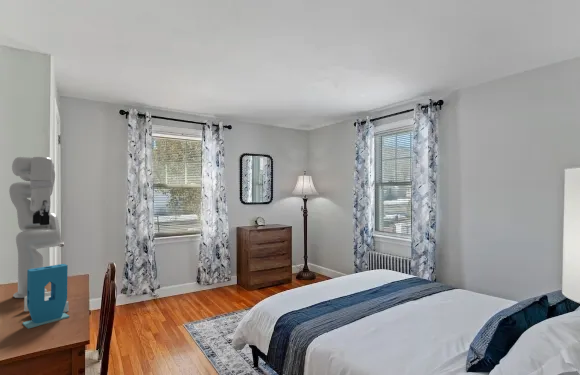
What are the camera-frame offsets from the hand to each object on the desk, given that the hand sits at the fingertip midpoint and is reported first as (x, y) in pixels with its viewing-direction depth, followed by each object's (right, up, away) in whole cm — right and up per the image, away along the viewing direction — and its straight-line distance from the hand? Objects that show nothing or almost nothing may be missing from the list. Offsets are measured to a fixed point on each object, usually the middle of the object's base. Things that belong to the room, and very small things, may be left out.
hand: (40, 224), depth 136 cm
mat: (+14, -36, -15) cm, 41 cm away
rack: (+6, -36, -5) cm, 37 cm away
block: (+14, -36, -14) cm, 41 cm away
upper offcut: (+9, -33, -7) cm, 35 cm away
